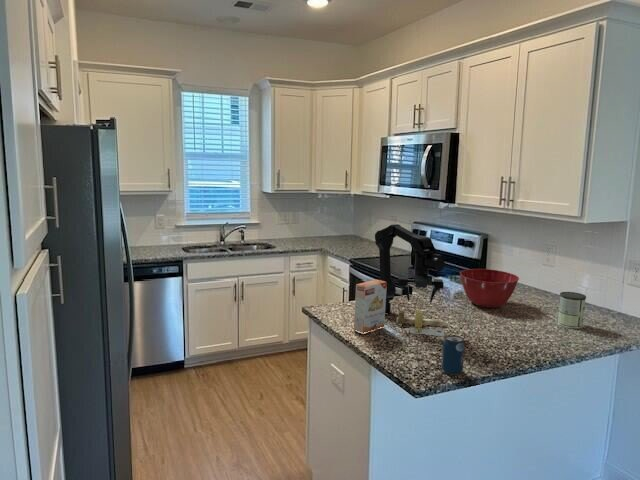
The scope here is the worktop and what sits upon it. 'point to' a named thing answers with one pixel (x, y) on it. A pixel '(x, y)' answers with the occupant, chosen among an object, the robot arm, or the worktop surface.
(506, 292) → the mixing bowl
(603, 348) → the worktop surface
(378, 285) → the cracker box
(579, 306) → the coffee can
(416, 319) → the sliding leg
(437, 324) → the trammel beam
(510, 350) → the worktop surface
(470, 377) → the worktop surface
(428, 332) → the bolt plate
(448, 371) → the soda can
